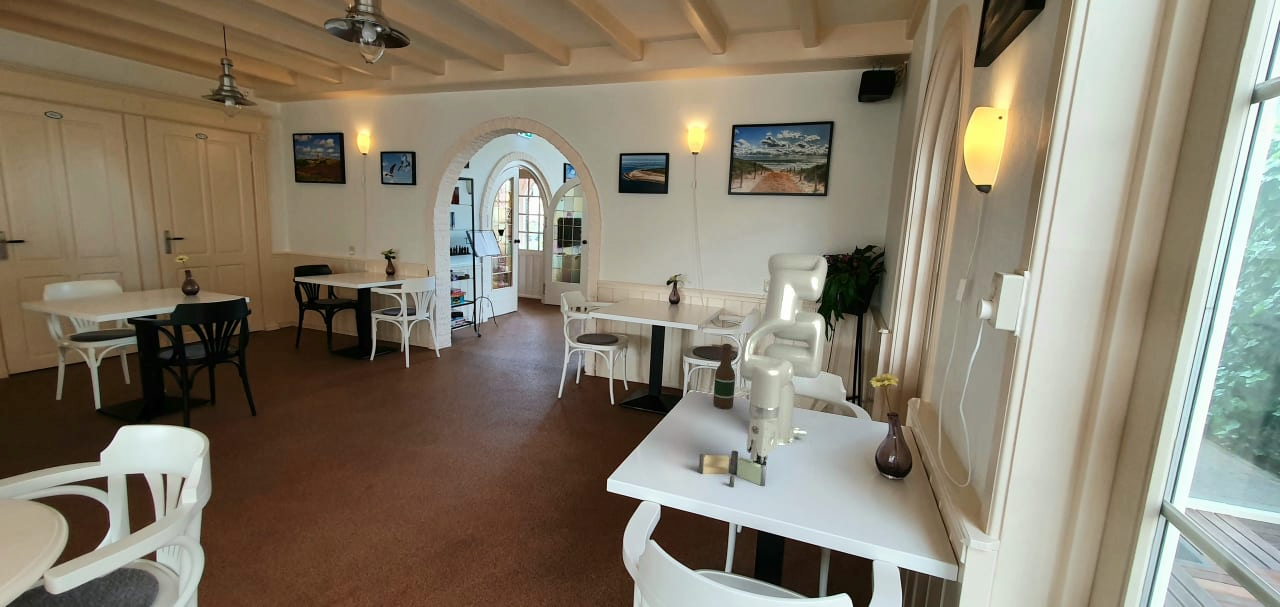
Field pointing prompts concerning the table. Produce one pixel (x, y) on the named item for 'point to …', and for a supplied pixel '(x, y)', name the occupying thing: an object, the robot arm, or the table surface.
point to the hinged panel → (751, 471)
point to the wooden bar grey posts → (719, 465)
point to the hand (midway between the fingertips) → (758, 474)
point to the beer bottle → (724, 381)
